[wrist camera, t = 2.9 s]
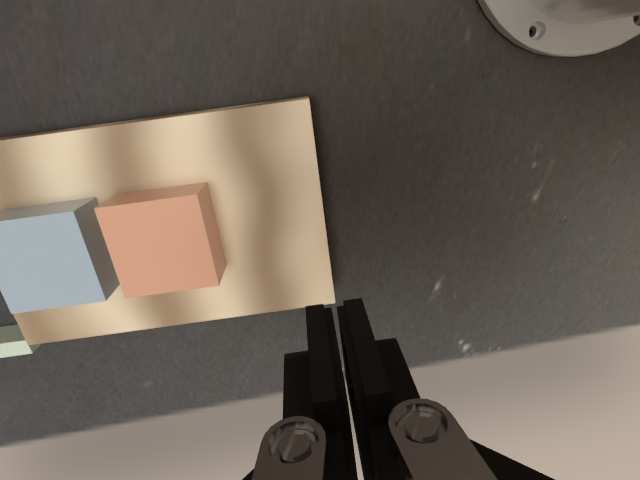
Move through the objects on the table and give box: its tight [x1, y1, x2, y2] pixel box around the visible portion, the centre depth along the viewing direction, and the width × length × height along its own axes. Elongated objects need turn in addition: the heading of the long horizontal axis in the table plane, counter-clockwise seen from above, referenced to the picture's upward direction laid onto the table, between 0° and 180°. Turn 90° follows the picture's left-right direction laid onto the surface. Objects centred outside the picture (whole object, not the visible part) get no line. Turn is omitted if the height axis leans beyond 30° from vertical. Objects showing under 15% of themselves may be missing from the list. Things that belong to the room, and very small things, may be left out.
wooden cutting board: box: [0, 96, 335, 345], centre depth 24 cm, size 19×12×2 cm, turn 97°
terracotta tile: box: [94, 182, 226, 298], centre depth 22 cm, size 5×5×2 cm
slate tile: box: [0, 197, 120, 314], centre depth 22 cm, size 5×5×2 cm
